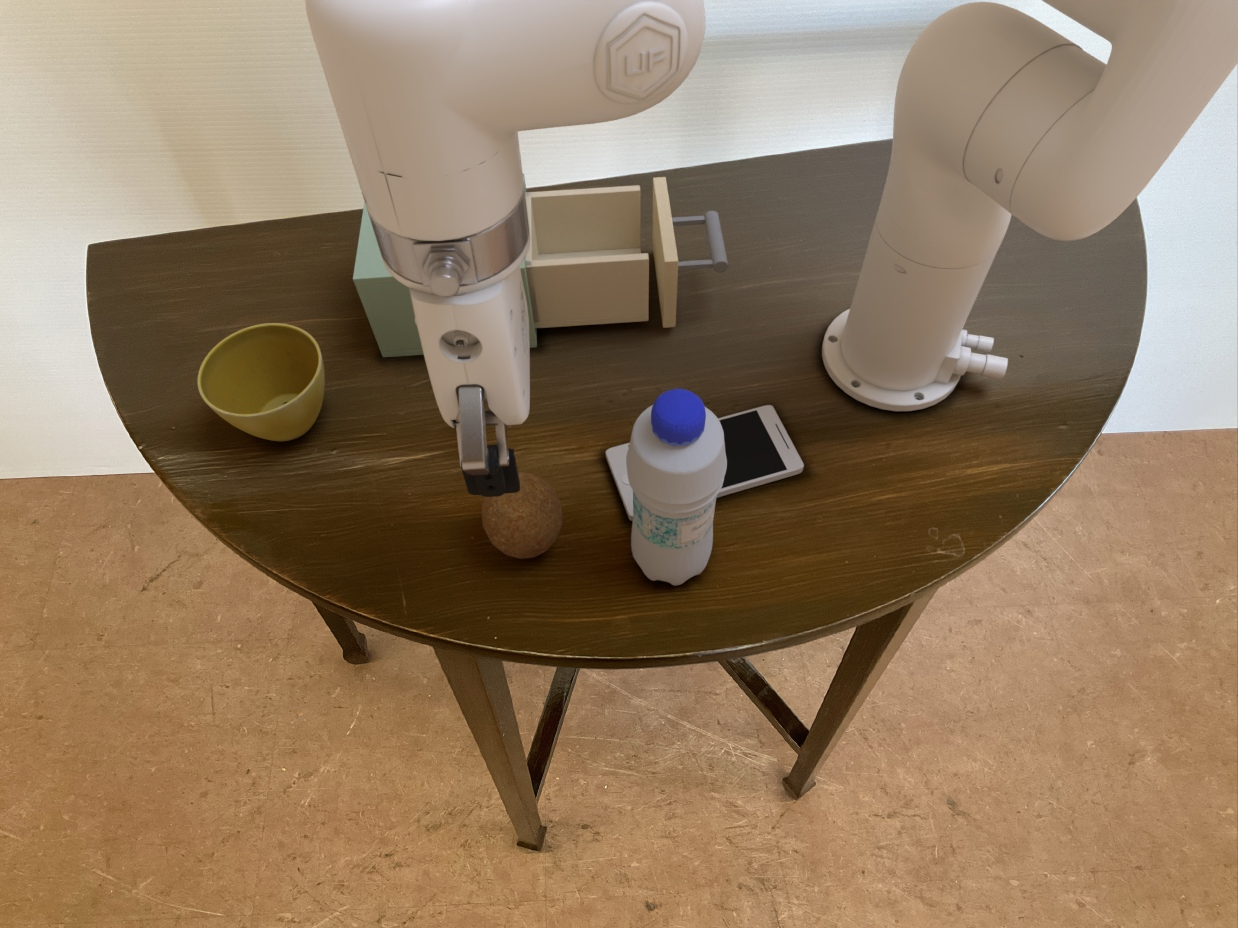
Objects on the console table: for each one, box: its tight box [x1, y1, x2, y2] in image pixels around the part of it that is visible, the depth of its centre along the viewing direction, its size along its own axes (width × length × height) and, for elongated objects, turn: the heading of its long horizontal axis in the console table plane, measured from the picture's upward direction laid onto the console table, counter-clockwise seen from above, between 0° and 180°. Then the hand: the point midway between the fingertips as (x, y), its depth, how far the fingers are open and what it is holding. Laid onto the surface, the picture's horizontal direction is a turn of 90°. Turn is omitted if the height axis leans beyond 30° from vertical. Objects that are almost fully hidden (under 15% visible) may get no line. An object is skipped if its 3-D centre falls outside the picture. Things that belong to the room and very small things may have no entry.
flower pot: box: [197, 322, 326, 442], centre depth 74 cm, size 10×10×7 cm
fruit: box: [481, 471, 563, 560], centre depth 66 cm, size 6×6×8 cm
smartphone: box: [605, 404, 805, 522], centre depth 73 cm, size 7×15×1 cm, turn 108°
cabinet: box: [352, 173, 538, 358], centre depth 80 cm, size 15×13×10 cm
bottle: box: [626, 388, 727, 586], centre depth 60 cm, size 7×7×20 cm
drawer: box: [525, 176, 729, 329], centre depth 80 cm, size 18×11×8 cm, turn 94°
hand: (496, 427), depth 56 cm, fingers open, 9 cm apart
